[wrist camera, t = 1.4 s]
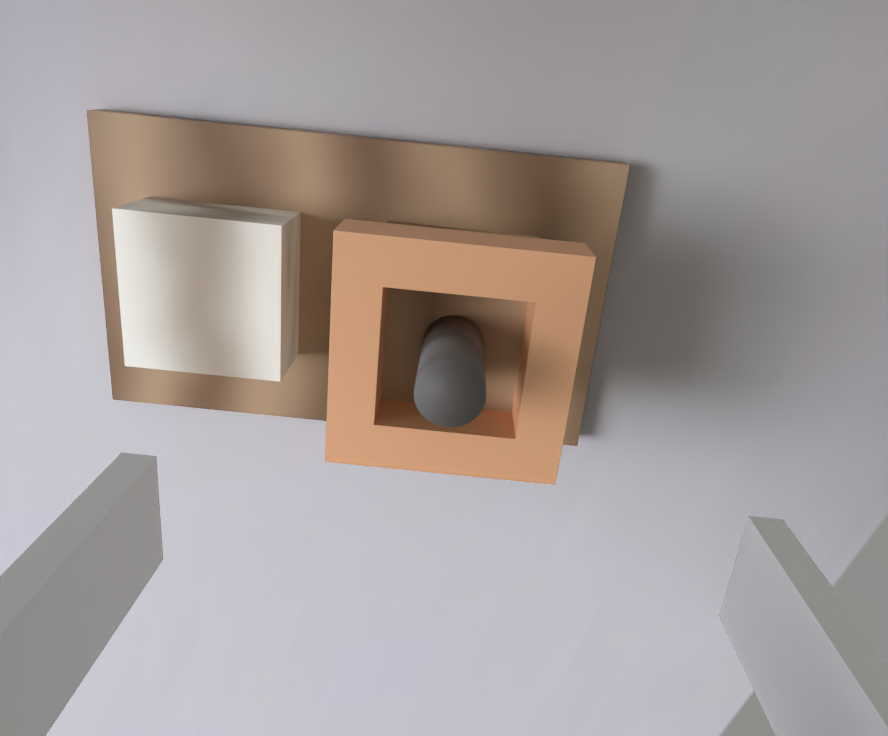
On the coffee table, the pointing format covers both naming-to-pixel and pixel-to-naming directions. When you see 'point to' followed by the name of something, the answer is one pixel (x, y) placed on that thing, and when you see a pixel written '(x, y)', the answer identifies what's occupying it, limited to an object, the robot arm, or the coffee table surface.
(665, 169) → the coffee table surface
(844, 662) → the robot arm
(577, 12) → the coffee table surface
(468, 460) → the square frame
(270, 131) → the stand
